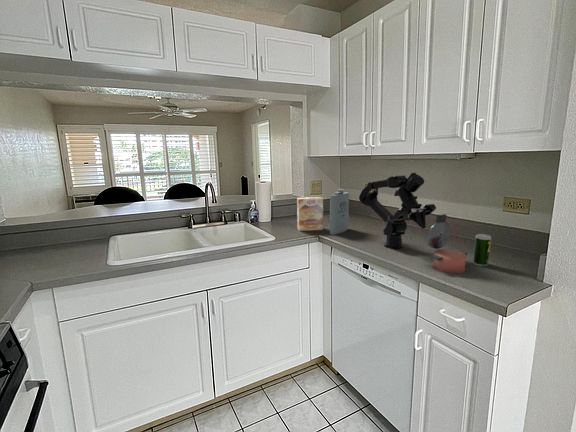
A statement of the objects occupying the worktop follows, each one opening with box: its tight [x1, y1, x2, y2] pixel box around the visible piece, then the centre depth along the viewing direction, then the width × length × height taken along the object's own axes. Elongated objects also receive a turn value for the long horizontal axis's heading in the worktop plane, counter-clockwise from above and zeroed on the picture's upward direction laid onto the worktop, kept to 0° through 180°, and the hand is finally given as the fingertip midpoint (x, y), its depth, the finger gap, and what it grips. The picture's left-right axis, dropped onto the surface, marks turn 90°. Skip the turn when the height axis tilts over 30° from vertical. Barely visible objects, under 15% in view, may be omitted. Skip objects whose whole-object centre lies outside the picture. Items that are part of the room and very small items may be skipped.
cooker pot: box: [431, 248, 468, 274], centre depth 122 cm, size 12×15×6 cm
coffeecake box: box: [296, 196, 324, 232], centre depth 189 cm, size 15×7×20 cm, turn 97°
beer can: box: [472, 233, 492, 267], centre depth 124 cm, size 5×5×12 cm
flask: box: [329, 188, 350, 235], centre depth 181 cm, size 17×5×25 cm, turn 141°
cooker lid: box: [426, 213, 451, 250], centre depth 125 cm, size 14×11×1 cm
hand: (424, 228), depth 132 cm, fingers closed
